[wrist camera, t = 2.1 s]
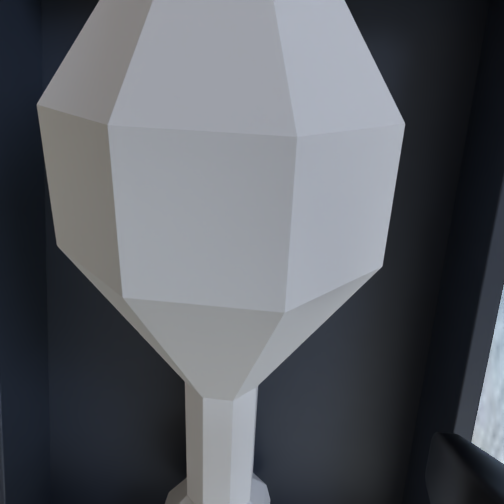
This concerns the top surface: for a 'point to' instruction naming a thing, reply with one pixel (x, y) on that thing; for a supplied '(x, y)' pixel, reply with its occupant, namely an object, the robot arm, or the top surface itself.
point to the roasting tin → (316, 345)
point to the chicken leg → (221, 193)
